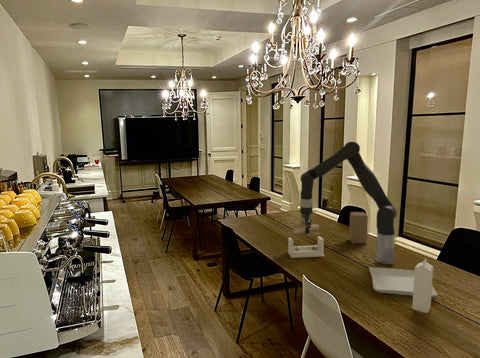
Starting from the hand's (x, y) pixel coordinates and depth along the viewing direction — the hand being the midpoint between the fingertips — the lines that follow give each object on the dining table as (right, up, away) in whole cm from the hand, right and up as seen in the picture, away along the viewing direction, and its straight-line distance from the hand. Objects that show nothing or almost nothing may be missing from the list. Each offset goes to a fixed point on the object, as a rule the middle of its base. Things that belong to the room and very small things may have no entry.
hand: (306, 232), depth 213 cm
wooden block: (+40, -10, +24) cm, 48 cm away
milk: (+38, -23, -64) cm, 78 cm away
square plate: (+39, -20, -42) cm, 61 cm away
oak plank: (0, 0, 0) cm, 1 cm away
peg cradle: (0, -14, +2) cm, 14 cm away
